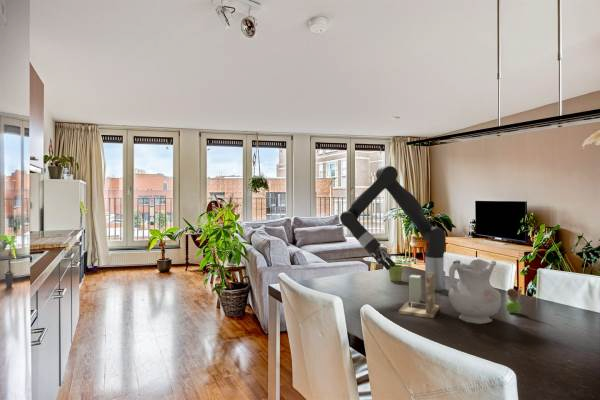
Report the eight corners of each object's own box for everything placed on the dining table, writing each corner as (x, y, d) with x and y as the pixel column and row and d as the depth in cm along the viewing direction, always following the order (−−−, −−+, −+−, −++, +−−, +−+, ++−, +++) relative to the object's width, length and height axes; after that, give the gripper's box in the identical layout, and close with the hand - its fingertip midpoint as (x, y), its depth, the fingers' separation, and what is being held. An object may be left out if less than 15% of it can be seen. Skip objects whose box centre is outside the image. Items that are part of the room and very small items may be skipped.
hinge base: (398, 313, 157) (398, 275, 157) (407, 303, 171) (407, 269, 171) (433, 318, 151) (433, 279, 150) (439, 307, 165) (439, 272, 164)
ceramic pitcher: (477, 334, 136) (482, 268, 134) (433, 316, 152) (437, 257, 150) (509, 323, 147) (514, 262, 145) (465, 307, 164) (469, 252, 162)
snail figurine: (517, 316, 152) (517, 287, 152) (502, 312, 158) (502, 284, 158) (525, 314, 155) (525, 286, 154) (510, 310, 160) (510, 282, 160)
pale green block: (409, 302, 173) (409, 276, 173) (411, 299, 178) (411, 274, 178) (418, 303, 171) (418, 277, 171) (421, 300, 176) (421, 275, 176)
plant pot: (403, 282, 212) (403, 267, 212) (387, 281, 215) (386, 267, 215) (403, 279, 221) (403, 264, 221) (387, 278, 224) (387, 264, 224)
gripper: (369, 239, 178) (393, 264, 172) (378, 236, 190) (400, 260, 185) (359, 249, 180) (382, 275, 175) (368, 245, 193) (390, 269, 187)
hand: (391, 267), depth 180 cm, fingers open, 8 cm apart
